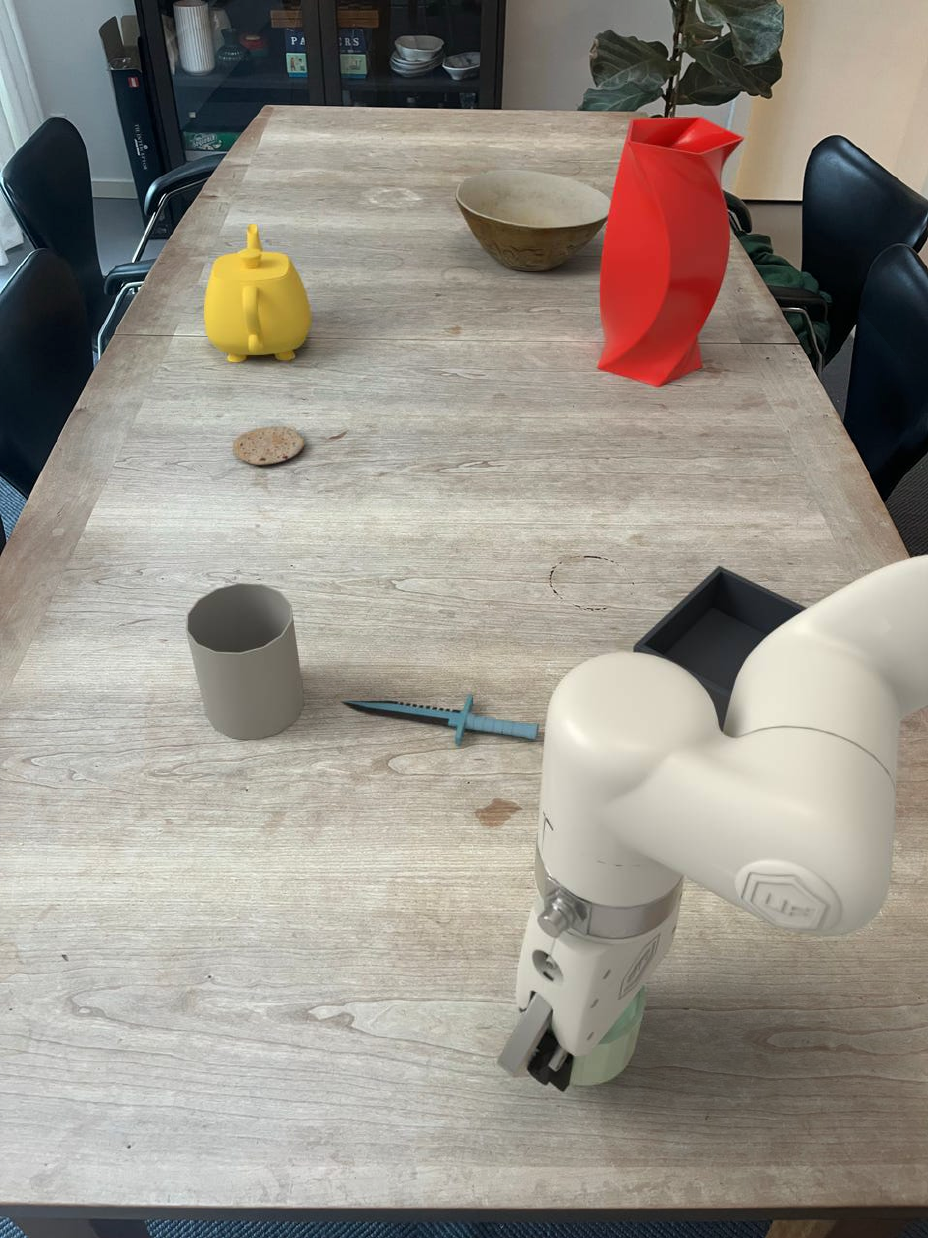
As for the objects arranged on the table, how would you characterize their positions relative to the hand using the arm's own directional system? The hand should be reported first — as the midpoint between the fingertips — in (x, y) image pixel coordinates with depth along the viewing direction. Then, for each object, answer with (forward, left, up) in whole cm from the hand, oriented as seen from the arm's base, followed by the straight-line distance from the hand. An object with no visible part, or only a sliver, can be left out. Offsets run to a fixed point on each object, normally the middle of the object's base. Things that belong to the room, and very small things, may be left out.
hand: (582, 1025), depth 63 cm
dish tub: (+8, -36, -3) cm, 37 cm away
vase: (+46, -81, -3) cm, 93 cm away
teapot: (+88, -50, -3) cm, 102 cm away
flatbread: (+67, -33, -3) cm, 75 cm away
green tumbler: (0, 0, -1) cm, 1 cm away
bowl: (+78, -96, -3) cm, 124 cm away
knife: (+25, -15, -3) cm, 30 cm away
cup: (+38, -6, -3) cm, 39 cm away
